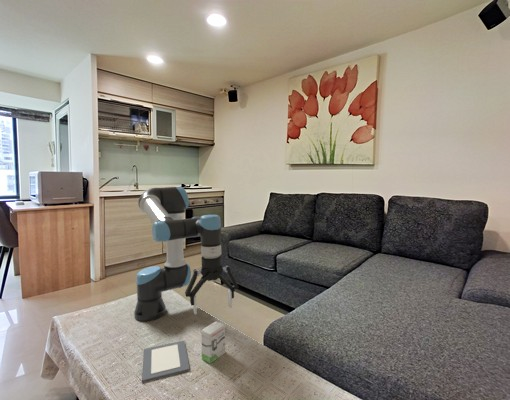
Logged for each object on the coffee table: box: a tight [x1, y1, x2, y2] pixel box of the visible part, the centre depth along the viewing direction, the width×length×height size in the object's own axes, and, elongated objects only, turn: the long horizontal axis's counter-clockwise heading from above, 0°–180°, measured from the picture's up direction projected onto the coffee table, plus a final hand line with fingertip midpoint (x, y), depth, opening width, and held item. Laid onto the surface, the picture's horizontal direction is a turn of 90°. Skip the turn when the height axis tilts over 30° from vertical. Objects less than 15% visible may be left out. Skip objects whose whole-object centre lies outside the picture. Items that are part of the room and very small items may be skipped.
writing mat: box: [141, 340, 190, 383], centre depth 104 cm, size 18×16×1 cm
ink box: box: [200, 320, 226, 364], centre depth 106 cm, size 9×5×12 cm, turn 143°
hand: (213, 309), depth 104 cm, fingers open, 13 cm apart
